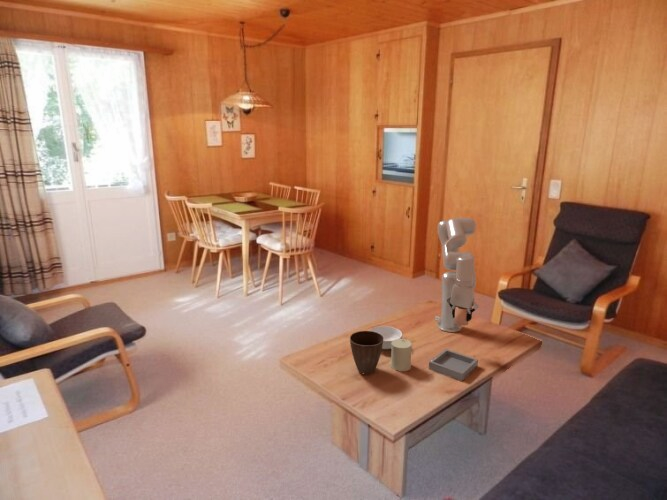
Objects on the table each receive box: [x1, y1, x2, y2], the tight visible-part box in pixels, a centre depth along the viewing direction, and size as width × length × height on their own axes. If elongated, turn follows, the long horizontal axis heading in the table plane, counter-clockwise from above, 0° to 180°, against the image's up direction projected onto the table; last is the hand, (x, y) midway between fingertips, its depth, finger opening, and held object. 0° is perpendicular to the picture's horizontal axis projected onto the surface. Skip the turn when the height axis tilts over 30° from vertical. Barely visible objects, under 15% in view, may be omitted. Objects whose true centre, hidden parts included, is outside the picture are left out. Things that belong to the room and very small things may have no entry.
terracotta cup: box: [454, 306, 469, 327], centre depth 213 cm, size 6×6×8 cm
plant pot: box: [349, 330, 384, 375], centre depth 201 cm, size 15×15×16 cm
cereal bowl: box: [368, 325, 403, 350], centre depth 225 cm, size 17×17×7 cm
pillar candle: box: [390, 338, 412, 372], centre depth 205 cm, size 9×9×12 cm
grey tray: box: [428, 348, 479, 382], centre depth 204 cm, size 16×16×4 cm
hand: (461, 318), depth 214 cm, fingers closed on terracotta cup, 6 cm apart
